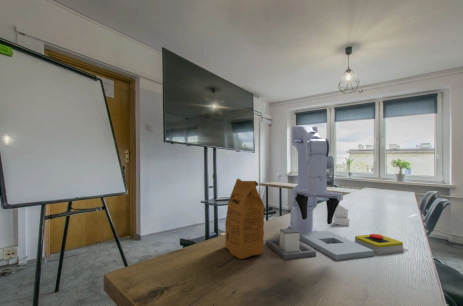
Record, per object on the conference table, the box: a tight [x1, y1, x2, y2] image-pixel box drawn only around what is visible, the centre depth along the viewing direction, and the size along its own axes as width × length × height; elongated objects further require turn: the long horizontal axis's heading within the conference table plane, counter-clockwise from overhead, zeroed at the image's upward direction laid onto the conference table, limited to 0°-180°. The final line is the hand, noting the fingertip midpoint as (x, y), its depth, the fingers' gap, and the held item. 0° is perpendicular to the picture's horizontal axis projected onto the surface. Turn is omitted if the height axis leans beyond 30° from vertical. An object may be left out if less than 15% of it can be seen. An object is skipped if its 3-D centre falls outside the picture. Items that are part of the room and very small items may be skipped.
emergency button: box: [354, 233, 409, 256], centre depth 72 cm, size 9×4×15 cm
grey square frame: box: [265, 238, 317, 260], centre depth 68 cm, size 12×10×1 cm
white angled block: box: [333, 203, 350, 226], centre depth 101 cm, size 4×10×9 cm
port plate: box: [300, 230, 375, 261], centre depth 73 cm, size 20×14×2 cm
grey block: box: [279, 228, 301, 253], centre depth 68 cm, size 4×5×6 cm
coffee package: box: [224, 178, 265, 260], centre depth 67 cm, size 10×12×22 cm
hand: (316, 221), depth 66 cm, fingers open, 7 cm apart
